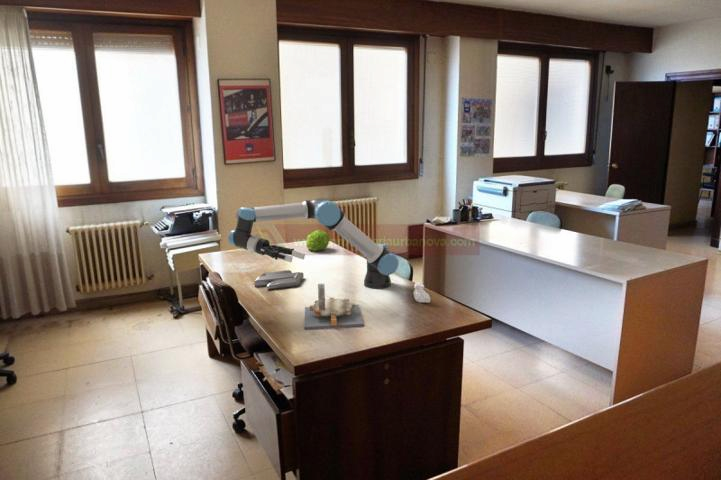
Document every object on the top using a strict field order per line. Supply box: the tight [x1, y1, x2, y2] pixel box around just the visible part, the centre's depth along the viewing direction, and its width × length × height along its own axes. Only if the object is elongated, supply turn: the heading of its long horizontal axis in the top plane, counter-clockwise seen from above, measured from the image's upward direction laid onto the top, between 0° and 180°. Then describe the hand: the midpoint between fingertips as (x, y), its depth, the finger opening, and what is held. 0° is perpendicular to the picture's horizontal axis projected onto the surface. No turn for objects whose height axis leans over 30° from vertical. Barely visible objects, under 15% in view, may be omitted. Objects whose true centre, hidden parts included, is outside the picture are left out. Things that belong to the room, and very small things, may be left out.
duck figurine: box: [412, 281, 431, 304], centre depth 250 cm, size 12×8×11 cm
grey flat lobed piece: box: [254, 269, 305, 290], centre depth 286 cm, size 28×5×28 cm
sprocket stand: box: [303, 304, 364, 330], centre depth 232 cm, size 26×25×4 cm
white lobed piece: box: [309, 282, 356, 318], centre depth 231 cm, size 21×21×14 cm
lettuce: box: [305, 229, 330, 252], centre depth 362 cm, size 15×25×16 cm
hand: (298, 258), depth 231 cm, fingers open, 13 cm apart
